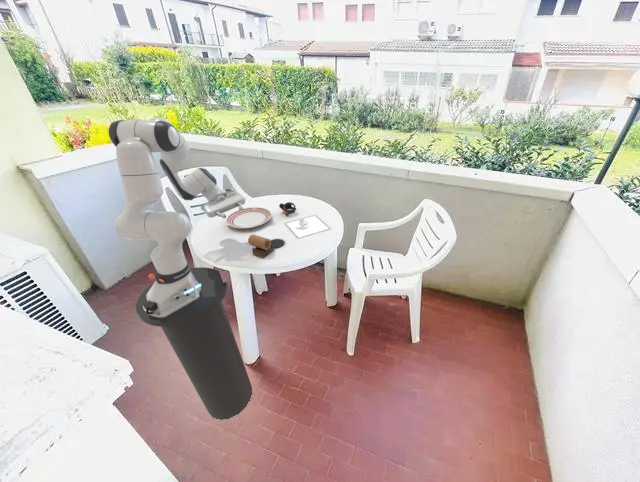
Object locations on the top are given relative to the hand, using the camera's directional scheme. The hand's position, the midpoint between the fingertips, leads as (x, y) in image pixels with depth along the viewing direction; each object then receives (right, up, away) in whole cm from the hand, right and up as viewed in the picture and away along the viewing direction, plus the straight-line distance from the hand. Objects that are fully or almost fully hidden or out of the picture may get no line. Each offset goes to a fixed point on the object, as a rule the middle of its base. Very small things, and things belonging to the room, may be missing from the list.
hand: (233, 213), depth 141 cm
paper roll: (+11, -14, +6) cm, 19 cm away
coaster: (+17, -15, +16) cm, 28 cm away
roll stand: (+12, -20, +9) cm, 25 cm away
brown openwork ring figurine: (+16, +7, +48) cm, 51 cm away
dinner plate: (-6, 0, +38) cm, 38 cm away
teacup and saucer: (+32, -4, +33) cm, 46 cm away
